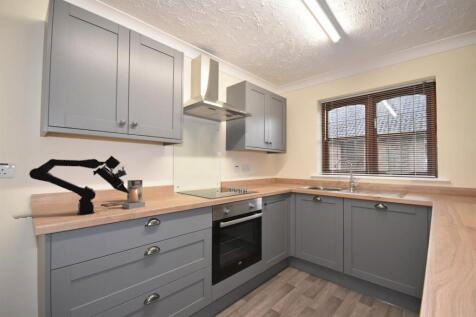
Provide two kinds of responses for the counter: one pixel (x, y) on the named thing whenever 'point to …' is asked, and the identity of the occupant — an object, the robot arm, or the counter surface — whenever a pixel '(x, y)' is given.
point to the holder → (133, 205)
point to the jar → (133, 194)
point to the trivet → (112, 204)
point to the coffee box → (135, 183)
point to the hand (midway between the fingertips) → (127, 192)
